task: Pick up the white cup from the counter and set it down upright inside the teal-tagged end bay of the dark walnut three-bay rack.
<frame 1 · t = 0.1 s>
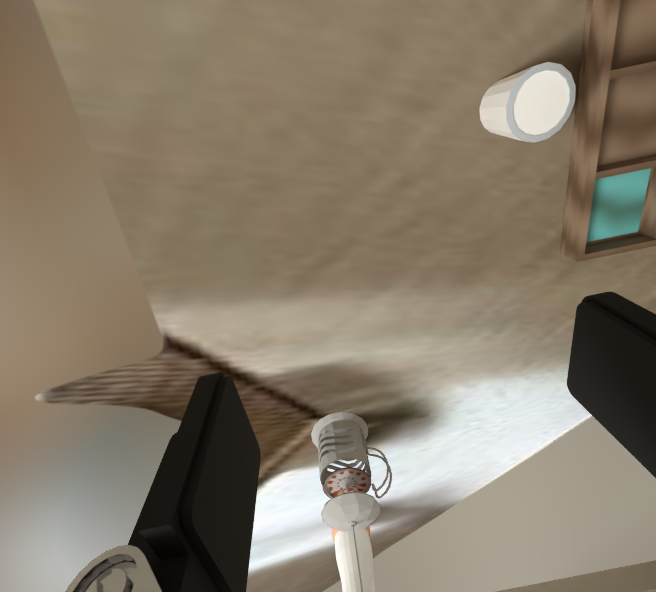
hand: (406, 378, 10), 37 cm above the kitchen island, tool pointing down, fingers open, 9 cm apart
white cup: (502, 107, 41), on the kitchen island
rack: (619, 119, 42), on the kitchen island
pepper shaker: (349, 516, 71), on the kitchen island
french press: (344, 431, 61), on the kitchen island
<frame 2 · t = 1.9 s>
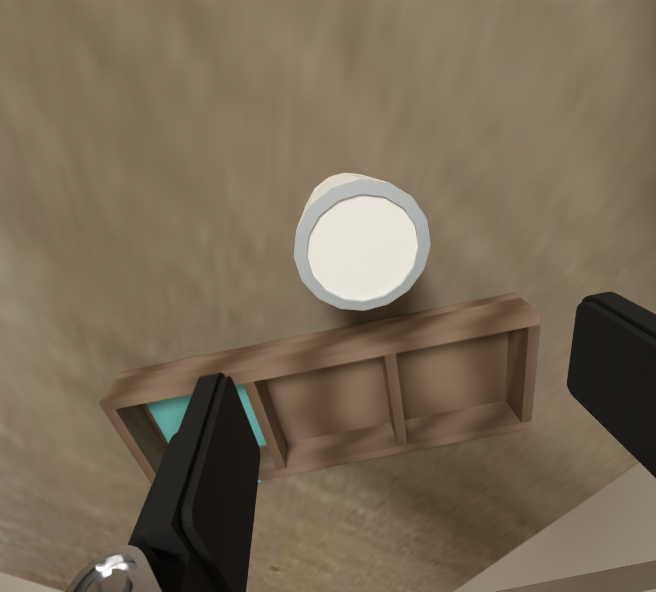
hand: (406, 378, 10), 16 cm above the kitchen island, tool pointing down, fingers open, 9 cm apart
white cup: (346, 215, 24), on the kitchen island
rack: (328, 386, 30), on the kitchen island
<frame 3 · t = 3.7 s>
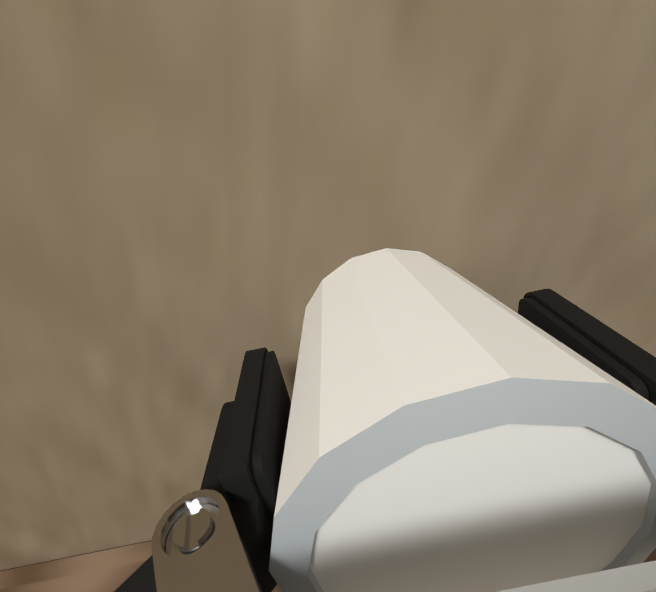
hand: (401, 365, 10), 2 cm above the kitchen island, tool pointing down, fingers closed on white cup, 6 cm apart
white cup: (384, 325, 12), on the kitchen island, touching gripper
rack: (341, 573, 18), on the kitchen island
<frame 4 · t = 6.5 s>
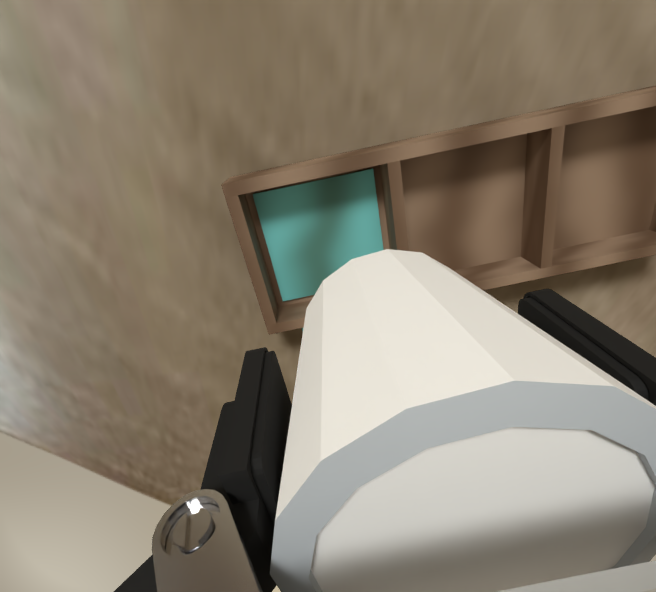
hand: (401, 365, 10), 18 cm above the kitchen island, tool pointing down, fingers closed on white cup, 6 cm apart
white cup: (385, 326, 12), point 16 cm above the kitchen island, touching gripper
rack: (456, 208, 27), on the kitchen island
when the fingers open (4 cm above the kitchen island, at t = 9.3 s): white cup drops 1 cm, resting on rack.
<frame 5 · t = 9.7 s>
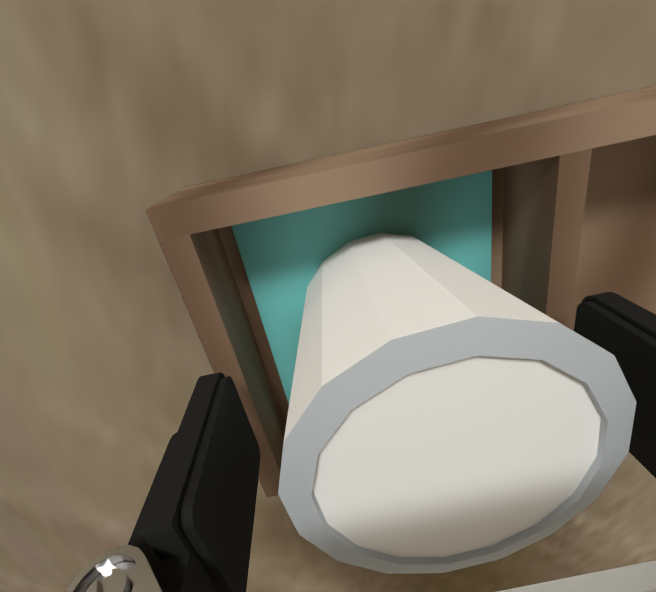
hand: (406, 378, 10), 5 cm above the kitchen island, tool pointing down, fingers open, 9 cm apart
white cup: (379, 305, 13), point 1 cm above the kitchen island, touching rack
rack: (630, 245, 14), on the kitchen island
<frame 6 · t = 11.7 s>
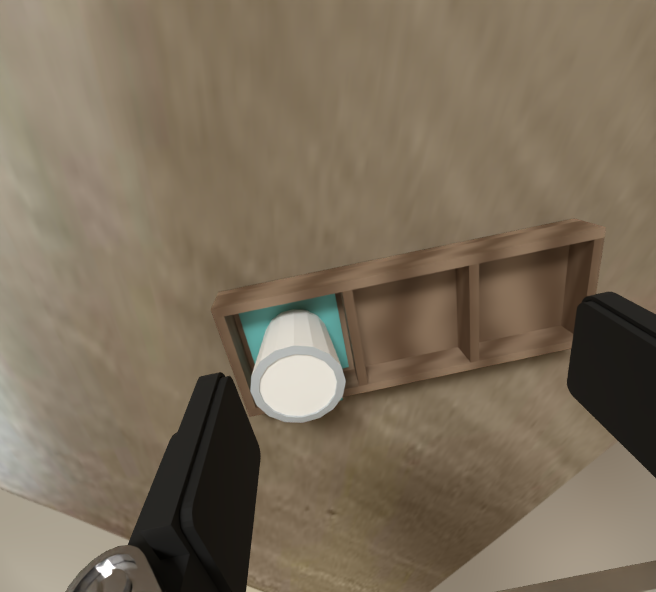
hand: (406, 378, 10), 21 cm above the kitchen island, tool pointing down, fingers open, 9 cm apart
white cup: (296, 336, 32), point 1 cm above the kitchen island, touching rack
rack: (403, 310, 33), on the kitchen island
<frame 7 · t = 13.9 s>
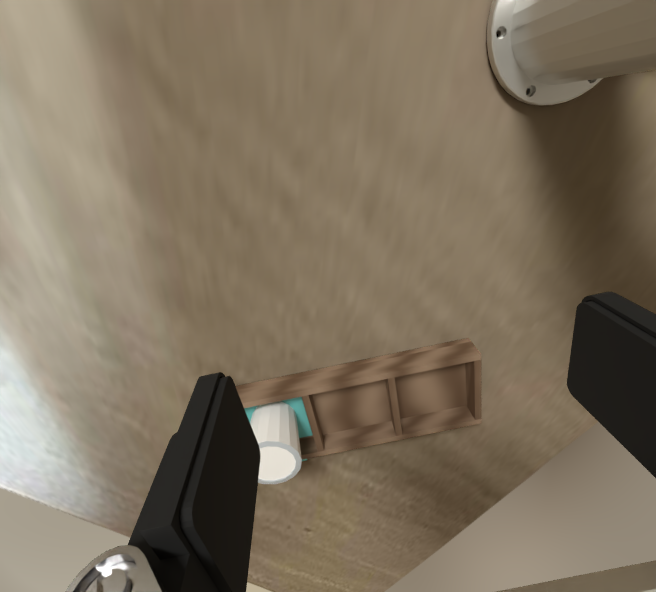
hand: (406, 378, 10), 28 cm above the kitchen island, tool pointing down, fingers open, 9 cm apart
white cup: (274, 416, 46), point 1 cm above the kitchen island, touching rack
rack: (350, 397, 47), on the kitchen island
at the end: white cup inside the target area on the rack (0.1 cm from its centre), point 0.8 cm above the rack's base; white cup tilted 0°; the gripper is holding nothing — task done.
